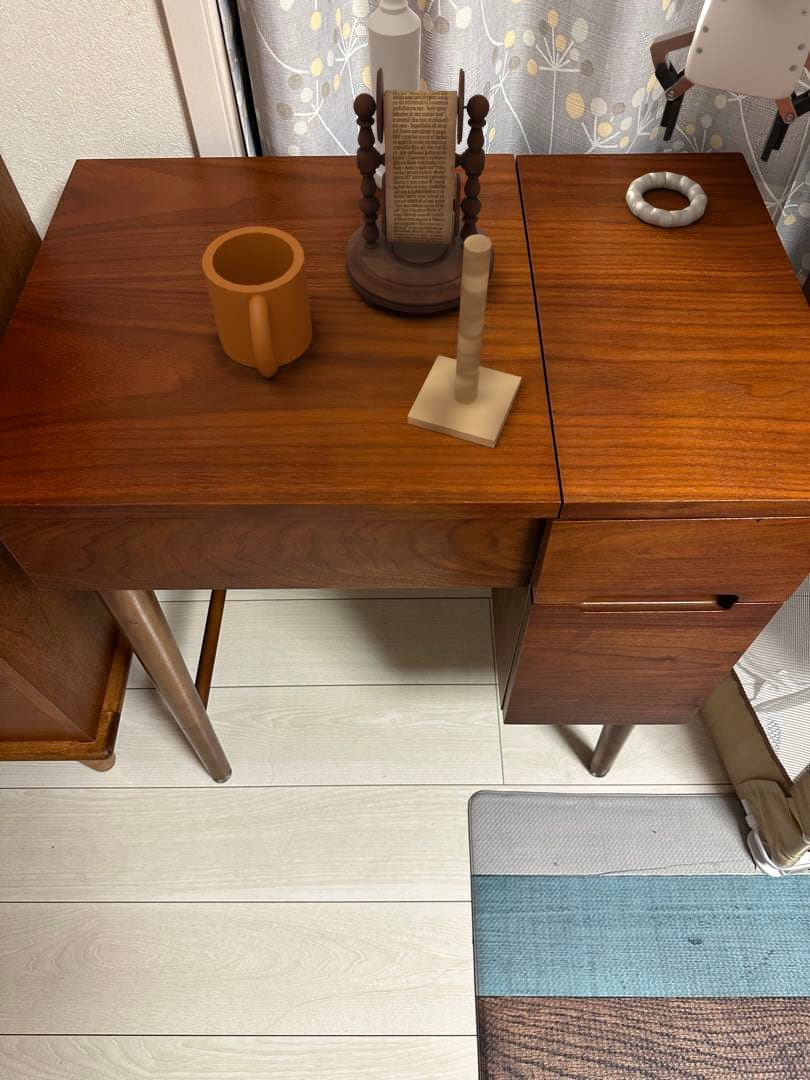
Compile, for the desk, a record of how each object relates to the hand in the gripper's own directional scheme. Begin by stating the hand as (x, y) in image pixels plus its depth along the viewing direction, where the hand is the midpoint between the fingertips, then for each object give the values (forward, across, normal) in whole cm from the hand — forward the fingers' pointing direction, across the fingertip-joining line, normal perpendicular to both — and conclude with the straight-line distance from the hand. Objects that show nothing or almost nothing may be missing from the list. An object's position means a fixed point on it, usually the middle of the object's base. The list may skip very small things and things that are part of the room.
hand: (716, 143), depth 81 cm
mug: (+8, +34, +35) cm, 50 cm away
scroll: (+8, +24, +20) cm, 33 cm away
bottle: (+8, +32, +6) cm, 34 cm away
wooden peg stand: (+7, +14, +35) cm, 39 cm away
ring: (+7, +3, 0) cm, 7 cm away
